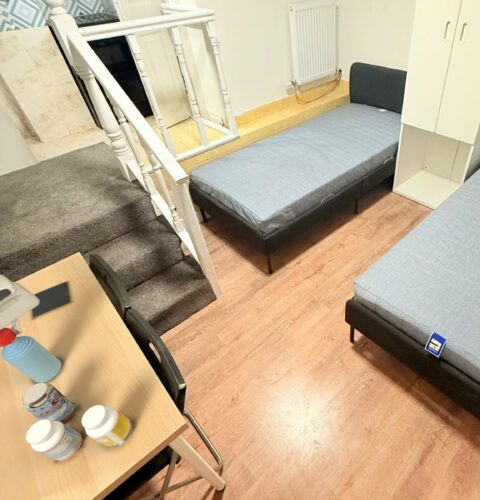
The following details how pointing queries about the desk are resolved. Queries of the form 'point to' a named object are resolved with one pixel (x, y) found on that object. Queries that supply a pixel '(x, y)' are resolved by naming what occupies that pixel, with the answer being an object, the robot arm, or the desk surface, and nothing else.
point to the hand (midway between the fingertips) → (7, 339)
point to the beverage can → (48, 403)
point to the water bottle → (31, 359)
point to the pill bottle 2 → (106, 425)
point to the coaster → (51, 299)
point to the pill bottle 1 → (54, 439)
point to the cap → (6, 337)
